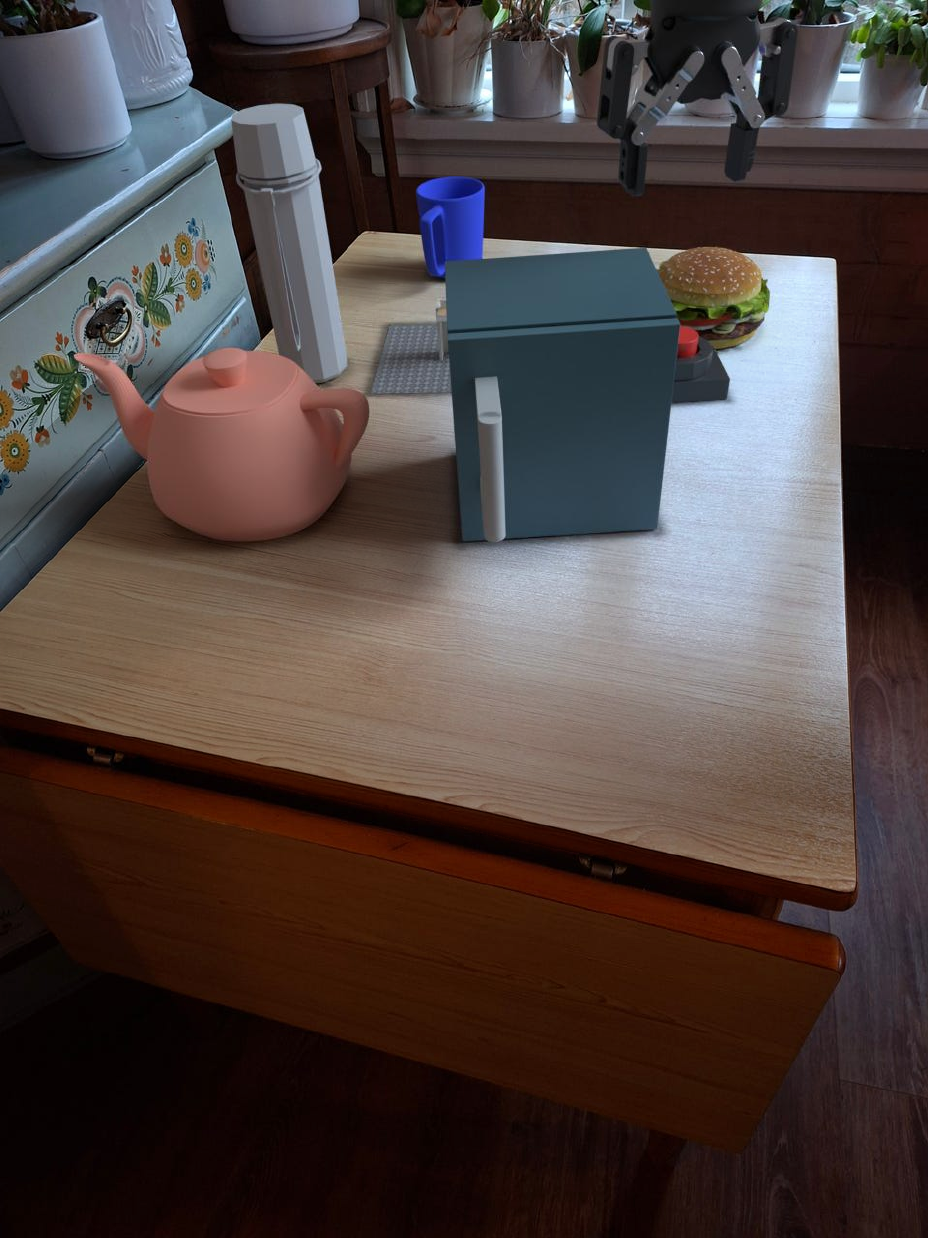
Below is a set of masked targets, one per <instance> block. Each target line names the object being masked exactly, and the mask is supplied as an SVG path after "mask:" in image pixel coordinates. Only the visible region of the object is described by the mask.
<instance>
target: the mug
mask: <svg viewBox="0 0 928 1238" xmlns="http://www.w3.org/2000/svg"><path fill="white" fill-rule="evenodd" d="M485 187H486V186H485V184H484V183H483V182H482V181H480V180H479V179H476V178H473V177H467V176H445V177H439V178H434V179H430V180H427V181H425V182H423V183H421V184H419V186H417V188H416V189H415V196H416V203H417V209H418V214H419V229H420V230H419V231H420V236H421V237H420V238H421V244H422V250H423V256H424V261H425V265H426V269H427V272H428V273H429V275H430V276H433V277H438V278H441V279H445V261H459V260H474V259H483V254H484V253H483V252H484V251H483V250H484V223H485V222H484V221H485V193H486V192H485V190H486V188H485Z"/></svg>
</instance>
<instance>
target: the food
mask: <svg viewBox="0 0 928 1238" xmlns="http://www.w3.org/2000/svg"><path fill="white" fill-rule="evenodd" d="M656 270H657V272H658V274H659V277H660V279H661V281H662V283H663V285H664V287H665V290H666V292H667V294H668V296H669V298H670V301H671V303H672V305H673V307H674V309H675V311H676V314H677V318H678V321H679V323H680V327H688V328H691V329H693V330H695V331H696V332H697V333H698V336H700V337H701V338H703V339H705V340H707V341H709V342H710V344H711V346H712V345H713V346H714V348H715V350H716V349H725V348H730V347H734V346H735V347H736V346H739V345H740V344H742V343H744V342H745V341H748V340H749V339H751V338H753V337H754V335H755V333H756V332H757V330H758V328H759V327H760V326H761V325H762V324H763V322H764V321H765V316H766V314H767V312H768V311H769V309H770V297H771V291H770V289H769V287H768V286H767V283H768V281H769V280H768V279H769V278H767V279H763V277H762V275H763V274H762V270H761V269H760V267H759V266H758V265H757V264H756V263H755V262H754V261H753V259H751V258H750V257H748V256H747V255H745V254H744V253H741V252H738V251H735V250H732V249H730V248H725V247H718V246H715V247H713V246H704V247H703V246H702V247H699V246H698V247H693V248H689V249H687V250H683V251H679V252H677V253H675V254H674V255H672V256H671V257H669V258H668V259H667V260H664V261H662V262H661V263H659V266H658V268H656Z"/></svg>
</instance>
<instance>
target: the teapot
mask: <svg viewBox="0 0 928 1238" xmlns="http://www.w3.org/2000/svg"><path fill="white" fill-rule="evenodd" d="M73 358H74V360H75V361H77V362H78V363H79V364H80V365H82V366H84V367H85V368H86V369H87V370H89V371H91V372H92V373H93V374H94V375H95V376H96V377H97V378H98V379H99V380H100V381H101V383H102V384H103V386H104V388H105V389H106V390H107V392H108V394H109V397H110V400H111V402H112V405H113V407H114V411H115V413H116V417H117V420H118V423H119V425H120V428H121V431H122V433H123V435H124V437H125V439H126V440H127V442H128V443H129V445H130V446H131V448H132V449H133V450H134V451H135V452H136V453H138V454H139V456H141V457H142V458H143V459H144V460H146V464H147V465H146V467H147V476H148V482H149V486H150V487H149V488H150V491H151V494H152V498H153V501H154V502H155V504H156V506H157V508H159V510H160V511H161V513H163V514H164V515H165V516H166V517H167V518H169V519H170V520H172V522H174V523H177V524H178V525H180V526H181V527H183V528H185V529H187V530H189V531H192V532H194V533H197V534H199V535H200V536H204V537H207V538H211V539H214V540H218V541H219V540H220V541H227V542H242V543H243V542H260V541H267V540H274V539H279V538H283V537H286V536H287V537H288V536H290V535H294V534H295V533H296V534H297V533H298V532H300V531H302V530H305V529H306V528H308V527H309V526H312V525H313V524H315V523H316V522H317V521H318V520H320V518H321V517H322V516H323V515H324V514H325V513H326V512H327V511H328V509H329V508H330V507H331V505H332V504H333V502H334V501H335V500H336V498H337V497H338V495H339V494H340V493H341V491H342V489H343V487H344V485H345V484H346V481H347V479H348V477H349V474H350V470H351V466H352V465H351V464H352V456H353V455H352V454H353V453H354V451H355V450H356V448H357V446H358V445H359V443H360V441H361V440H362V437H363V436H364V434H365V432H366V429H367V427H368V424H369V419H370V403H369V401H368V398H367V397H366V396H365V394H363V393H362V392H361V391H359V390H356V389H353V388H345V387H344V388H343V387H340V388H339V387H337V388H327V389H321V388H320V387H319V386H318V385H317V383H314V381H313V380H312V379H311V378H310V377H309V376H308V375H307V374H306V373H305V372H304V371H303V370H302V369H301V368H300V367H299V366H298V365H297V364H296V363H295V362H293V361H292V360H290V359H288V358H286V357H283V356H280V355H279V354H277V353H273V352H268V351H261V350H244V349H241V348H237V347H223V348H222V347H221V348H218V349H215V350H213V351H211V352H208V353H207V354H206V355H204V356H201V357H198V358H196V359H193V360H192V361H190V362H188V363H186V364H185V365H184V366H183V367H181V368H180V369H178V370H177V371H176V372H175V373H174V374H173V376H171V378H170V379H169V380H168V381H167V383H166V384H165V385H164V387H163V388H162V391H161V393H160V396H159V399H158V401H157V404H156V407H155V410H154V409H153V408H151V407H150V406H149V405H148V404H147V402H145V401H144V399H143V398H142V397H141V395H140V393H139V392H138V390H137V389H136V388H135V385H134V384H133V382H132V381H131V379H130V378H129V377H128V375H127V374H126V373H125V371H123V369H122V368H121V367H119V366H118V365H117V364H116V363H115V362H114V361H112V360H110V359H109V358H106V357H105V356H101V355H98V354H93V353H90V352H89V353H88V352H77V353H75V354H73ZM337 411H339V412H340V413H341V414H342V418H343V421H342V419H341V418H340V415H339V414H338V412H337Z"/></svg>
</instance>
